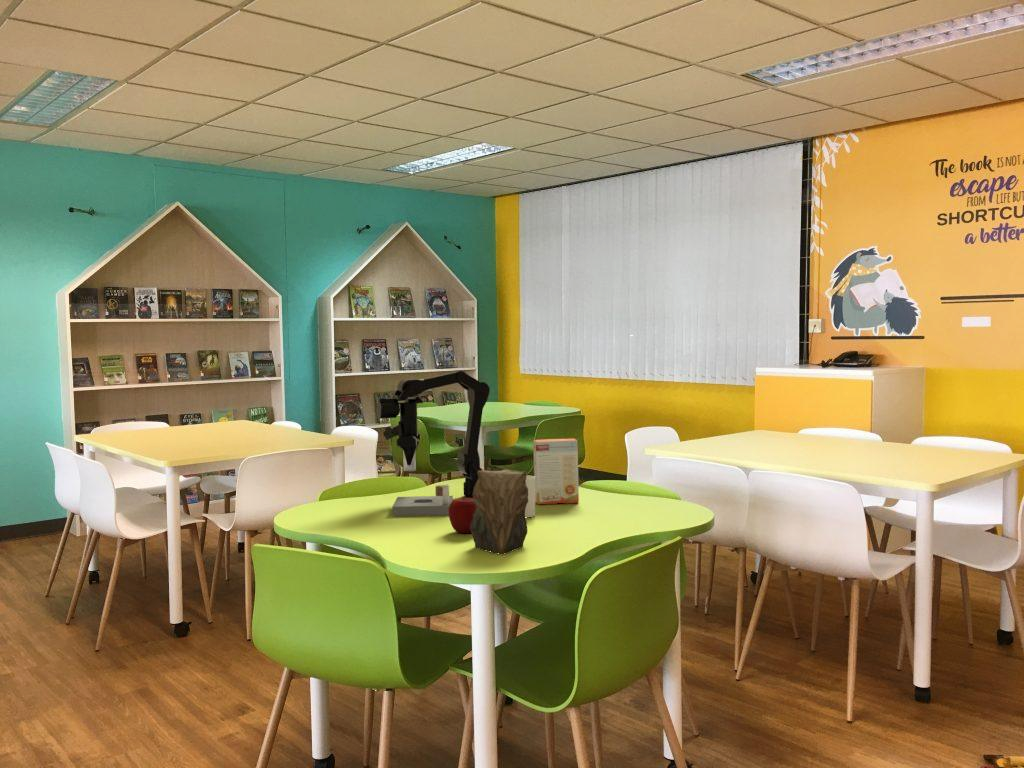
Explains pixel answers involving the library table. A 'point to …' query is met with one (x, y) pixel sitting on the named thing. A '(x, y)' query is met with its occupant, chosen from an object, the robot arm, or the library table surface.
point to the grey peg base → (423, 505)
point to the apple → (461, 514)
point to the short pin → (439, 490)
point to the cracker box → (556, 471)
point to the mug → (530, 496)
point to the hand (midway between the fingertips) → (409, 464)
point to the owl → (500, 510)
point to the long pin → (409, 467)
